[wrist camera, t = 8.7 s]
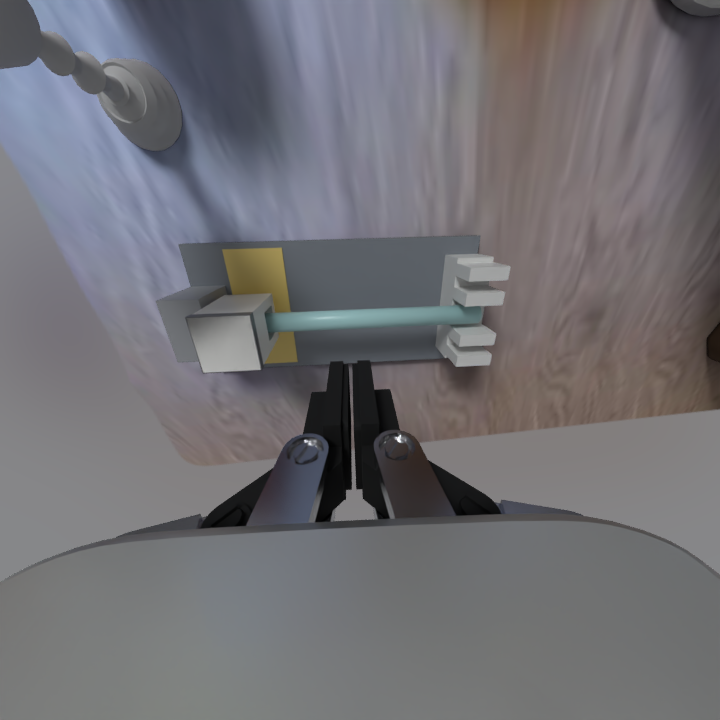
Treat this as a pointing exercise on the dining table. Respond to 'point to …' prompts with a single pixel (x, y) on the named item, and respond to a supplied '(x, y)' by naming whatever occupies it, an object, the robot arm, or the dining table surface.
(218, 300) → the sleeve
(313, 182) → the dining table surface
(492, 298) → the cable rig
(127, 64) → the chalice
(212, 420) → the dining table surface
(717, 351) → the beer bottle
